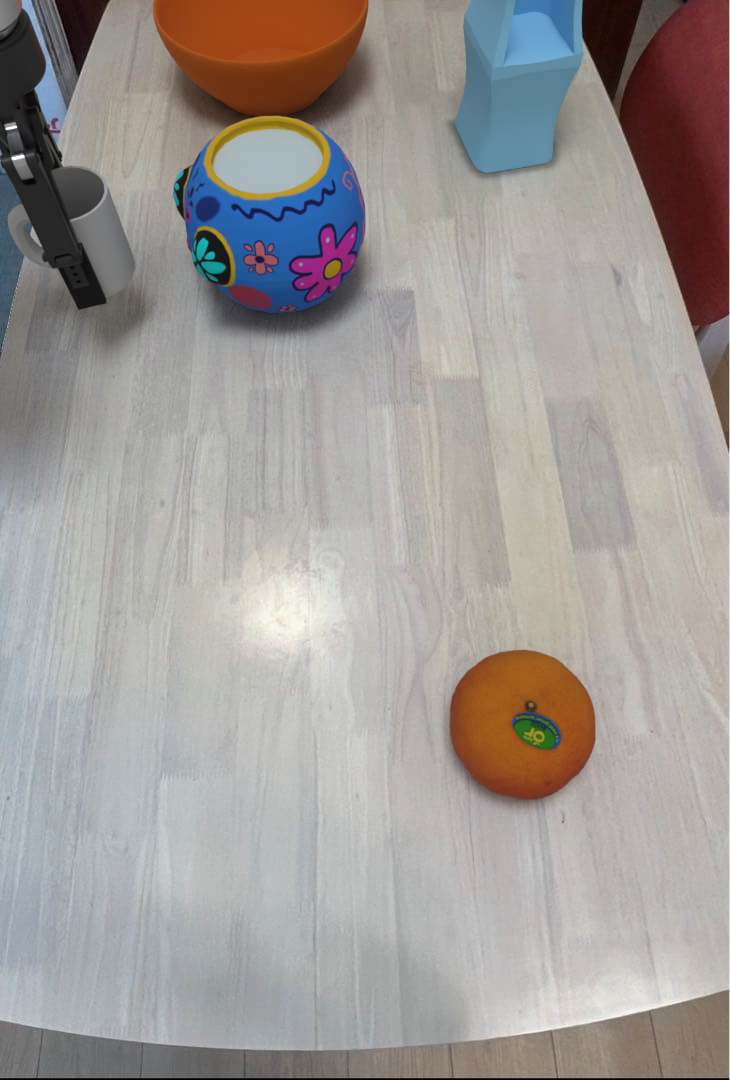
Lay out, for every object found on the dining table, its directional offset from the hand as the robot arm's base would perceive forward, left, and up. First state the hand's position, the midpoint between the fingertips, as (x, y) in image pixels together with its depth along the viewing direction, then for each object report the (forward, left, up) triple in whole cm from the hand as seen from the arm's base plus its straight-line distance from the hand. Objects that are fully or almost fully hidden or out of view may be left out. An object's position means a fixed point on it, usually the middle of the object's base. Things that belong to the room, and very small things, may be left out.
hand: (86, 274), depth 72 cm
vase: (+50, +14, -7) cm, 52 cm away
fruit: (+24, -52, -7) cm, 58 cm away
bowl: (+26, +34, -7) cm, 43 cm away
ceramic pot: (+19, 0, -7) cm, 20 cm away
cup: (0, 0, 0) cm, 1 cm away
